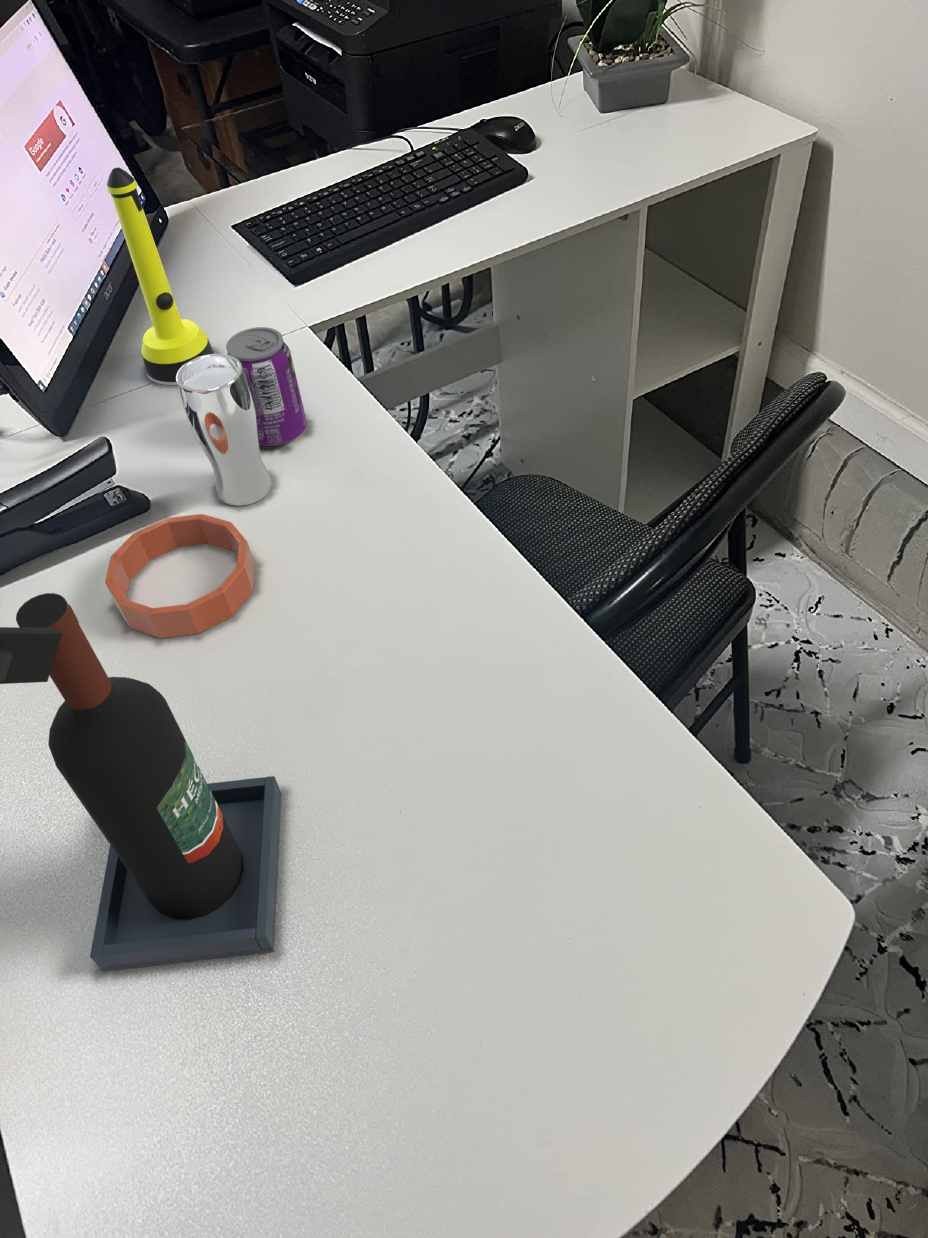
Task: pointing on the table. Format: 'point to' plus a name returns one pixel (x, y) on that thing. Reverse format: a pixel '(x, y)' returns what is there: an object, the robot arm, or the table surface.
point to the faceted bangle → (167, 538)
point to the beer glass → (225, 426)
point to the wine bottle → (136, 775)
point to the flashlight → (155, 290)
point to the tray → (234, 929)
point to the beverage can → (270, 384)
